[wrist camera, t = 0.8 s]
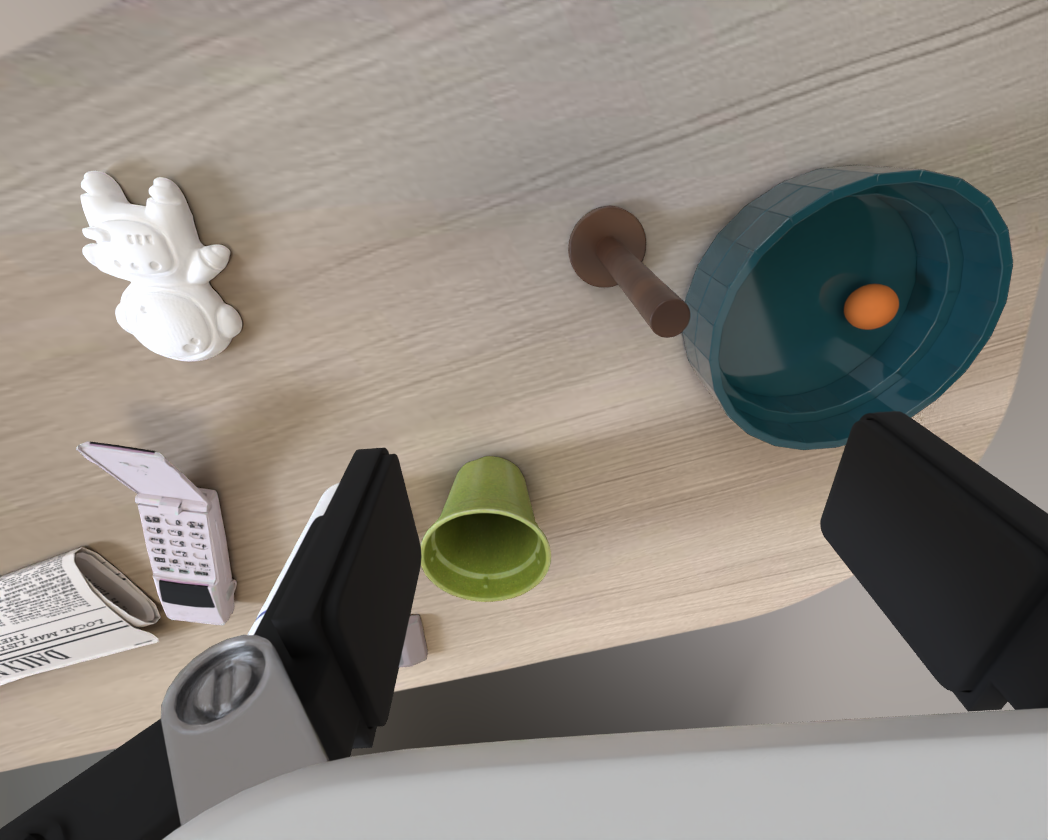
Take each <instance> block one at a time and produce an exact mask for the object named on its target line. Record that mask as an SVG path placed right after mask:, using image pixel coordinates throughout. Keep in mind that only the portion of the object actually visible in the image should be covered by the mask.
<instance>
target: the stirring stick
mask: <svg viewBox="0 0 1048 840" xmlns="http://www.w3.org/2000/svg"><path fill="white" fill-rule="evenodd" d="M568 251H569V258H570V262H571V264H572V267H573V268H574V270H575V272H576V273H577V275H578V276H579V277H580V278H581V279H582V280H583V281H585V282H586V283H588V284H590V285H593V286H596V287H613V286H616V285H619V286H620V288H621V289H622V290H623V292H624V293H625V294H626V296H627V297H628V298H629V300H630V301H631V302H632V304H633V305H634V306H635V308H636V309H637V310H638V312H639V313H640V314H641V316H642V317H643V318H644V320H645V321H646V322H647V324H648V325H649V326H650V328H651V329H652V330H653V332H654V333H655V334H657V335H658V336H661V337H666V338H668V337H674V336H676V335H678V334H680V333H681V332H682V331H684V329H685V328H686V327H687V325H688V323H689V321H690V309H689V307H688V305H687V304H686V303H685V302H684V301H683V300H682V299H681V298H680V297H679V296H677V295H676V294H675V293H674V292H673V291H672V290H671V289H670V288H669V287H668V286H667V285H666V284H664V283H663V282H662V281H661V280H660V279H659V278H658V277H657V276H656V275H655V274H654V273H653V272H652V271H650V270H649V269H648V268H647V267H646V266H645V265H644V264H643V263H642V261H643V258H644V255H645V251H646V237H645V232H644V229H643V227H642V225H641V223H640V222H639V220H638V219H637V218H636V217H635V216H634V215H633V214H631V213H630V212H628V211H626V210H624V209H622V208H619V207H615V206H604V207H600V208H596V209H594V210H592V211H590V212H589V213H587V214H586V215H585V216H583V217H582V218H581V219H580V220H579V222H578V223H577V224H576V226H575V227H574V229H573V231H572V234H571V236H570V240H569V249H568Z"/></svg>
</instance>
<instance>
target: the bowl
mask: <svg viewBox="0 0 1048 840" xmlns="http://www.w3.org/2000/svg"><path fill="white" fill-rule="evenodd" d="M1007 228H1008V227H1007V226H1006V224H1005V222H1004V220H1003V219H1002V217H1001V215H1000V214H999V212H998V210H997V209H996V207H995V205H994V204H993V202H992V200H991V199H990V198H989V197H988V196H986V195H985V194H983V193H982V192H980V191H979V190H978V189H976V188H975V187H973V186H972V185H970V184H969V183H968V182H966V181H965V180H963V179H961V178H959V177H954V176H950V175H945V174H941V173H937V172H932V171H928V170H923V169H909V168H895V167H880V166H865V165H849V166H838V167H827V168H820V169H816V170H814V171H811V172H808V173H805V174H803V175H800V176H797V177H795V178H792V179H789V180H786V181H784V182H782V183H780V184H778V185H777V186H775V187H774V188H772V189H771V190H769V191H768V192H766V193H765V194H763V195H761V196H760V197H758V198H757V199H755V200H754V201H752V202H751V203H749V204H748V205H747V206H745V207H744V208H743V209H742V210H741V211H740V212H739V213H738V214H737V215H736V216H735V217H734V218H733V219H732V220H731V221H730V222H729V223H728V224H727V225H726V226H725V227H724V228H723V229H722V230H721V231H720V232H719V233H718V235H717V236H716V238H715V239H714V241H713V242H712V244H711V245H710V247H709V249H708V250H707V252H706V253H705V255H704V256H703V258H702V260H701V261H700V263H699V264H698V266H697V268H696V271H695V274H694V277H693V280H692V282H691V285H690V288H689V291H688V294H687V296H686V300H685V303H686V304H687V305H688V307H689V309H690V321H689V323H688V325H687V327H686V328H685V329H684V331H683V337H684V342H685V348H686V353H687V358H688V360H689V362H690V364H691V366H692V368H693V369H694V371H695V373H696V375H697V377H698V378H699V380H700V382H701V383H702V384H703V385H704V387H705V388H706V389H707V390H708V392H709V393H710V394H711V395H712V397H713V398H714V399H715V401H716V402H717V403H718V404H719V406H720V407H721V408H722V409H723V411H724V412H725V413H726V415H727V416H728V417H729V418H730V419H731V420H733V421H734V422H735V423H736V424H737V425H738V426H739V427H740V428H741V429H743V430H744V431H745V432H746V433H747V434H749V435H751V436H753V437H755V438H758V439H760V440H762V441H764V442H767V443H769V444H771V445H774V446H779V447H785V448H792V449H799V450H812V449H825V448H836V447H840V446H844V445H846V443H847V440H848V437H849V434H850V431H851V428H852V426H853V424H854V423H855V422H857V421H859V420H860V418H861V417H862V416H863V415H865V414H867V413H877V412H891V411H900V412H902V413H904V414H906V415H908V416H909V417H910V418H911V417H913V416H914V415H915V414H917V413H918V412H920V411H921V410H923V409H924V408H925V407H927V406H928V405H930V404H931V403H933V402H934V401H936V400H937V398H939V397H940V396H941V395H942V394H943V393H944V392H945V391H946V390H947V389H948V388H949V387H950V386H951V385H952V384H953V383H954V382H956V381H957V380H958V379H959V378H960V377H961V376H962V375H963V374H964V373H965V372H966V370H967V369H968V368H969V367H970V365H971V364H972V362H973V361H974V360H975V358H976V357H977V355H978V354H979V353H980V351H981V350H982V348H983V347H984V346H985V344H986V343H987V341H988V340H989V339H990V337H991V336H992V333H993V331H994V329H995V327H996V324H997V322H998V320H999V318H1000V315H1001V313H1002V311H1003V309H1004V306H1005V304H1006V302H1007V301H1006V300H1007V297H1008V292H1009V286H1010V280H1011V274H1012V268H1013V264H1012V263H1013V258H1012V251H1011V244H1010V237H1009V230H1008V229H1007ZM868 284H882V285H885V286H888V287H890V288H891V289H892V290H894V292H895V293H896V294H897V296H898V299H899V308H898V311H897V313H896V315H895V317H894V318H893V319H892V320H891V321H890V322H889V323H887V324H886V325H884V326H882V327H879V328H876V329H871V330H865V329H859V328H857V327H854V326H853V325H851V324H850V323H849V322H848V321H847V319H846V317H845V315H844V305H845V302H846V300H847V298H848V297H849V295H850V294H851V293H852V292H854V291H855V290H856V289H858V288H860V287H862V286H865V285H868Z"/></svg>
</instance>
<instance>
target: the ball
mask: <svg viewBox="0 0 1048 840" xmlns="http://www.w3.org/2000/svg"><path fill="white" fill-rule="evenodd" d="M898 308H899V299H898V296H897V294H896V293H895V292H894V290H892V289H891V288H890V287H888V286H885V285H882V284H868V285H865V286H862V287H860V288H858V289H856V290H855V291H854V292H852V293H851V294H850V295H849V297H848V298H847V300H846V302H845V305H844V315H845V317H846V319H847V321H848V322H849V323H850V324H851V325H853V326H854V327H857V328H859V329H865V330H871V329H876V328H879V327H882V326H884V325H886V324H887V323H889V322H890V321H891V320H892V319H893V318H894V317H895V315H896V313H897V311H898Z"/></svg>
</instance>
